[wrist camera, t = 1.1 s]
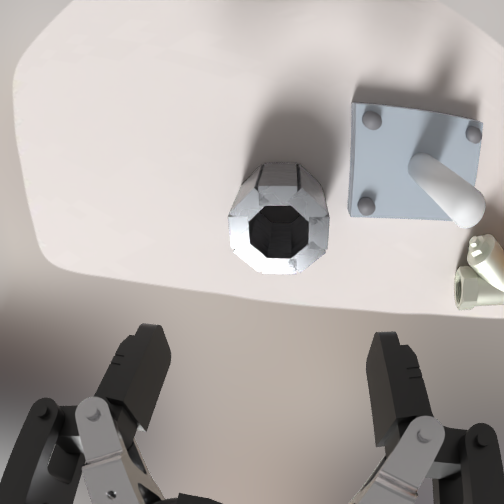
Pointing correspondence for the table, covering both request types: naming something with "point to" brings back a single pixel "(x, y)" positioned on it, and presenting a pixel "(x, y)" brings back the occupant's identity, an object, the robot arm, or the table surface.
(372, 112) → the mounting base with peg
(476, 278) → the pipe fitting
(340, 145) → the table surface
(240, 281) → the table surface
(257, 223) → the hub
